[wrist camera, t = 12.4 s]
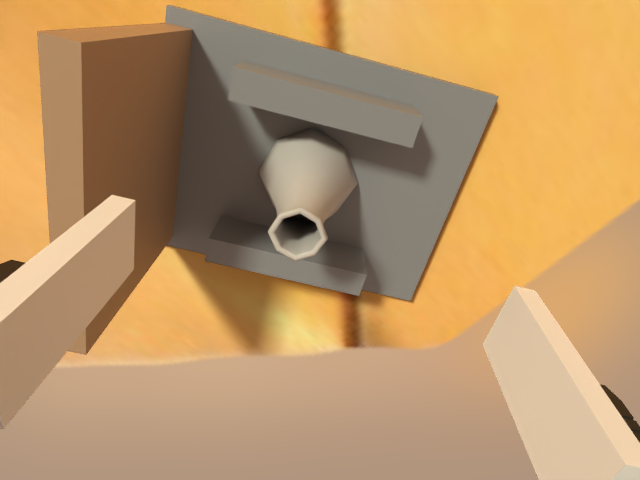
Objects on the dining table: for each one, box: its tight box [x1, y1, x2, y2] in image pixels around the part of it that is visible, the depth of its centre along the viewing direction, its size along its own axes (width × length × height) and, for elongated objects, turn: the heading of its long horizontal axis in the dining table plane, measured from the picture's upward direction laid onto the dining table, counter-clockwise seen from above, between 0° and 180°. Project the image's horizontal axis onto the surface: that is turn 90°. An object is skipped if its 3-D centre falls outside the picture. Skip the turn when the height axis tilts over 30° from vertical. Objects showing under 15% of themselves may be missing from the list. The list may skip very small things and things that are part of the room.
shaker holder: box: [37, 5, 498, 355], centre depth 27 cm, size 23×18×15 cm
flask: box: [258, 127, 358, 261], centre depth 28 cm, size 7×7×10 cm
